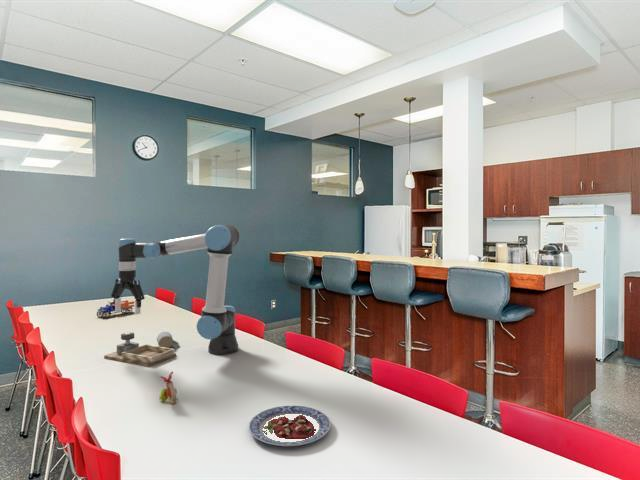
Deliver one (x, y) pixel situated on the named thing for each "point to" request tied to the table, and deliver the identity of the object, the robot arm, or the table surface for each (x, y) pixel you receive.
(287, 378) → the table surface
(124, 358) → the board
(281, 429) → the ceramic plate
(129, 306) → the toy truck
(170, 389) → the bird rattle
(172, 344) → the ceramic mug
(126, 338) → the wheel
